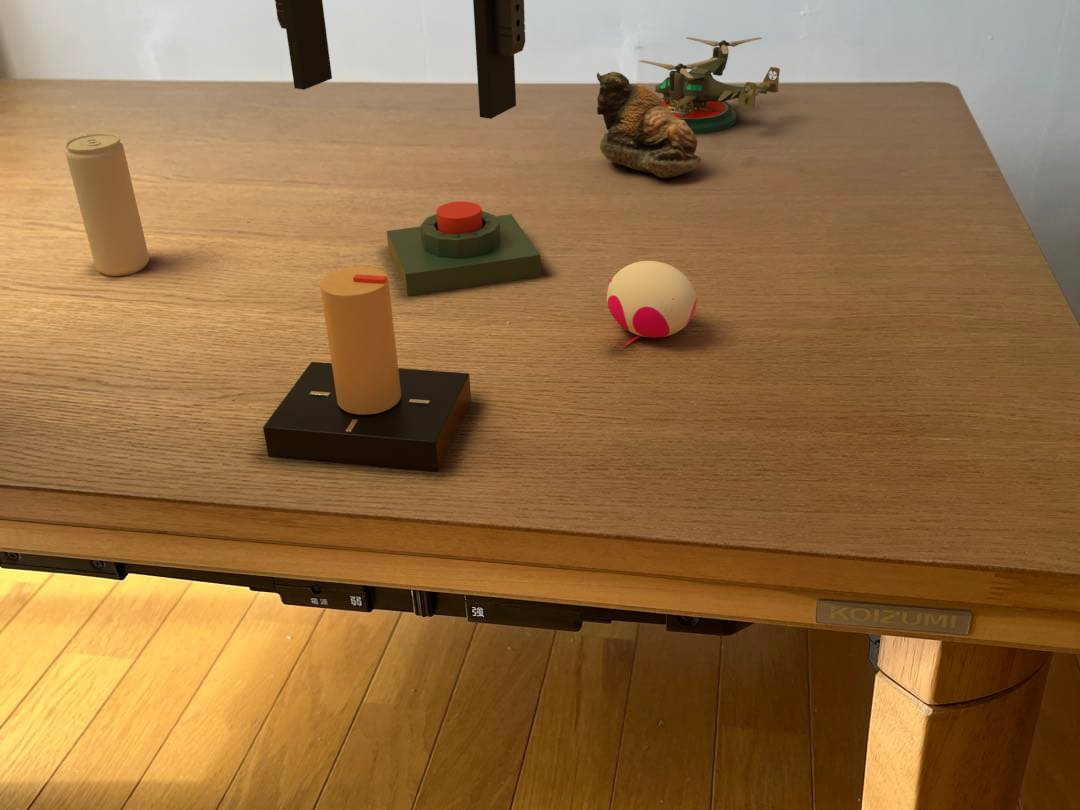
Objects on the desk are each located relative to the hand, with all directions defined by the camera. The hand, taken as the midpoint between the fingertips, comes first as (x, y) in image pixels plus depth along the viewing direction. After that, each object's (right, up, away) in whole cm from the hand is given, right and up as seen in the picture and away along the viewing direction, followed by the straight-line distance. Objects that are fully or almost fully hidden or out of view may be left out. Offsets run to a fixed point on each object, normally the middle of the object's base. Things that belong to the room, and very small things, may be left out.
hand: (401, 97), depth 66 cm
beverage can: (-30, -6, +37) cm, 48 cm away
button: (+1, -3, +33) cm, 33 cm away
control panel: (-3, -20, +12) cm, 24 cm away
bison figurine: (+20, +7, +54) cm, 58 cm away
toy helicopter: (+28, +16, +68) cm, 75 cm away
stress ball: (+17, -13, +23) cm, 31 cm away
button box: (+1, -6, +35) cm, 35 cm away
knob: (-4, -18, +11) cm, 21 cm away
